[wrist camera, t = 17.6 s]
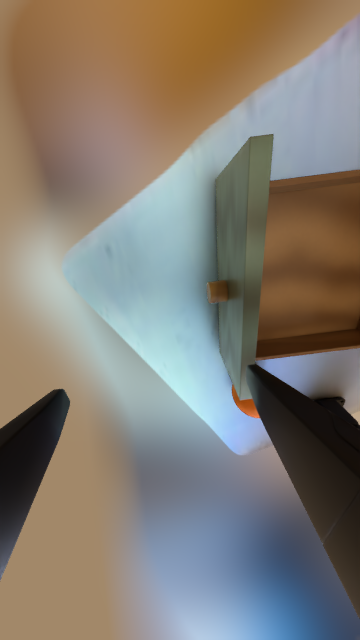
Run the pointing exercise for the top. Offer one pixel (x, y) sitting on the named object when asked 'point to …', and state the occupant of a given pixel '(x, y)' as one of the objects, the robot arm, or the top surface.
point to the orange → (245, 405)
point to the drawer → (284, 262)
